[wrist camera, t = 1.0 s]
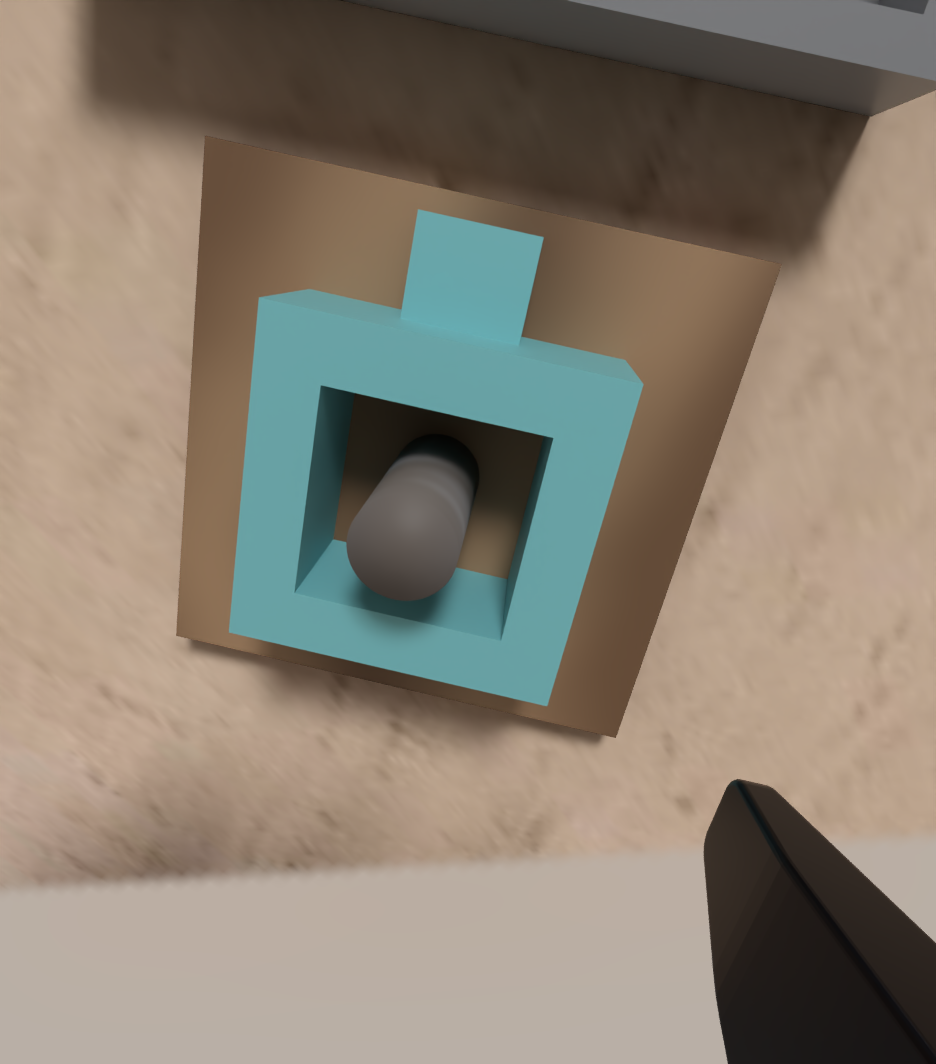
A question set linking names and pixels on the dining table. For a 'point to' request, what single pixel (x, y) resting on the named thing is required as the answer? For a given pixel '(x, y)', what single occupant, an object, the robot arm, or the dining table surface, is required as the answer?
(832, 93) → the tray
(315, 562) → the collar
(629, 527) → the peg base
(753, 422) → the dining table surface
